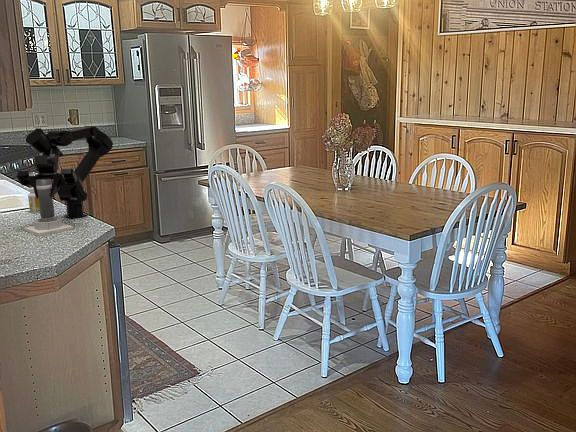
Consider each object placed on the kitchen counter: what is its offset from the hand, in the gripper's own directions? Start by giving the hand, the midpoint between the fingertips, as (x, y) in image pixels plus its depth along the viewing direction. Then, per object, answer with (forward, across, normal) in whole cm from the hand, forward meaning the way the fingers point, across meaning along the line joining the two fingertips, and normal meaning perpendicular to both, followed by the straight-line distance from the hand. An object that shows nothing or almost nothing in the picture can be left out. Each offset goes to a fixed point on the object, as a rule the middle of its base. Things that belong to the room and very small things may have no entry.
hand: (44, 197), depth 199 cm
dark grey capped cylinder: (+4, 0, +6) cm, 7 cm away
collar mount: (+7, 0, +9) cm, 12 cm away
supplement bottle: (-15, -14, +32) cm, 38 cm away
